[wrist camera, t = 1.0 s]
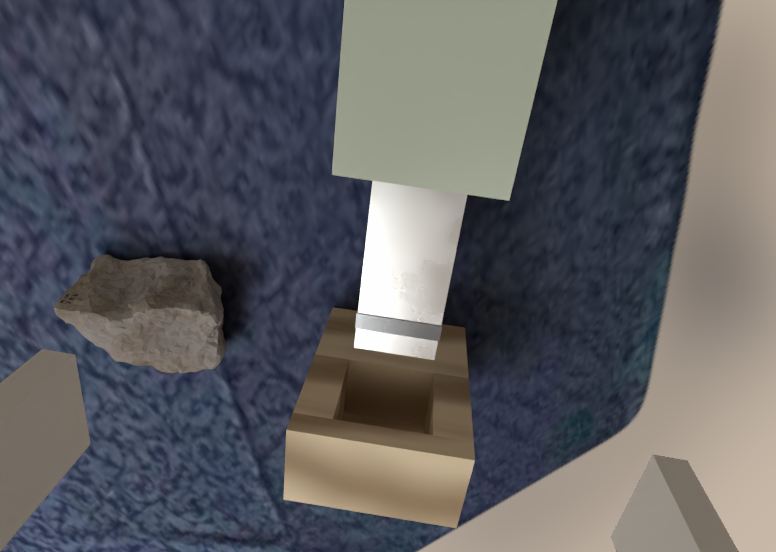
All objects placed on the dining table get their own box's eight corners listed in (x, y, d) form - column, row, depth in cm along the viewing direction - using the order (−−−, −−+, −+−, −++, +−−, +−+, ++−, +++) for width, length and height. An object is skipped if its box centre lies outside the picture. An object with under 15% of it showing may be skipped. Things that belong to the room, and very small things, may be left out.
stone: (236, 359, 38) (201, 414, 32) (105, 328, 38) (50, 377, 32) (245, 263, 34) (207, 307, 29) (100, 228, 34) (36, 266, 29)
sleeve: (391, -92, 24) (357, -171, 14) (529, -74, 24) (591, -142, 14) (370, 121, 29) (331, 174, 19) (485, 138, 29) (509, 200, 19)
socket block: (333, 307, 35) (286, 429, 24) (464, 327, 34) (474, 460, 24) (328, 364, 37) (283, 499, 26) (452, 383, 37) (456, 527, 26)
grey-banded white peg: (411, -103, 19) (405, -131, 16) (514, -90, 19) (531, -114, 16) (364, 306, 27) (352, 348, 24) (436, 317, 27) (435, 361, 24)
